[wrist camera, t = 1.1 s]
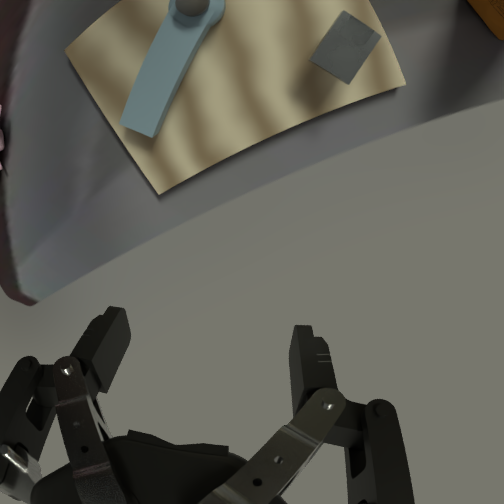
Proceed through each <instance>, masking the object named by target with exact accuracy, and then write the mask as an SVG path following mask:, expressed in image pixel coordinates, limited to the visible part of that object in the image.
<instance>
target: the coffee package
mask: <svg viewBox="0 0 504 504" xmlns="http://www.w3.org/2000/svg"><path fill="white" fill-rule="evenodd" d="M467 1H468V2H469V3H470V4H471V6H472V7H473V8H474V10H475V11H476V12H477V13H478V15H479V16H480V17H481V18H482V19H483V21H484V22H485V23H486V25H487V26H488V28H489V29H490V30H491V31H492V32H493V33H494V34H495V35H496V36H497V38H498V39H499V40H504V0H467Z"/></svg>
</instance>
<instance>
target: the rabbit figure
mask: <svg viewBox="0 0 504 504" xmlns="http://www.w3.org/2000/svg"><path fill="white" fill-rule="evenodd" d="M0 113H1V105H0ZM3 149H4V136H3V132H2V130H1V129H0V151H1V150H3ZM2 169H3V168H2V165H1V162H0V170H2Z"/></svg>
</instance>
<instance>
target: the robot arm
mask: <svg viewBox="0 0 504 504" xmlns="http://www.w3.org/2000/svg"><path fill="white" fill-rule="evenodd" d="M130 339H131V332H130V327H129V323H128V319H127V315H126V311H125V309H124V308H119V307H113V306H109V307H108V308H107V310H106V311H105V313H104V314H103V315H99V316H97V317H96V318H95V319H93V320H92V321H91V322H90V324H89V326H88V327H87V329H86V330H85V332H84V333H83V335H82V336H81V338H80V340H79V341H78V343H77V344H76V346H75V348H74V349H73V351H72V353H71V354H70V356H65V357H62V358H60V359H58V360H57V361H56V362H55V364H54V365H40V364H39V362H38V360H37V359H36V358H35V357H33V356H26V357H23V358H21V359H20V360H19V361H18V362H17V364H16V365H15V367H14V369H13V370H12V372H11V374H10V376H9V377H8V379H7V380H6V382H5V384H4V386H3V388H2V390H1V391H0V491H1V492H2V493H4V494H6V495H8V496H10V497H12V498H13V499H15V500H19V501H23V502H25V503H27V504H287V503H286V502H285V501H284V500H283V498H282V497H281V495H282V494H283V493H284V492H285V491H286V490H287V489H288V488H289V486H290V485H291V484H292V483H293V482H294V480H295V479H296V478H297V477H298V476H299V474H300V473H301V472H302V470H303V469H304V467H306V465H307V464H308V463H309V462H310V460H311V459H312V458H313V456H314V455H315V454H316V453H317V451H318V450H319V448H320V447H321V446H322V444H323V443H328V444H333V445H337V446H342V447H344V451H345V462H346V474H347V489H348V504H415V503H414V496H413V490H412V483H411V477H410V472H409V467H408V462H407V457H406V452H405V447H404V443H403V438H402V433H401V429H400V425H399V421H398V417H397V413H396V410H395V408H394V406H393V405H392V404H391V403H390V402H388V401H386V400H383V399H375V400H372V401H370V402H369V403H368V404H367V405H365V404H360V403H355V402H351V401H349V400H347V399H346V398H345V397H344V396H343V394H342V393H341V392H339V390H338V388H337V384H336V379H335V374H334V369H333V365H332V362H331V356H330V352H329V347H328V344H327V343H326V342H325V340H324V339H323V338H322V337H314V335H313V330H312V327H311V326H310V325H295V327H294V331H293V336H292V340H291V345H290V350H289V367H290V379H291V391H292V392H291V393H292V405H293V419H292V420H291V421H290V422H289V423H288V424H287V425H284V426H282V427H281V428H280V429H279V430H278V431H277V432H276V433H275V434H274V435H273V437H271V438H270V440H269V441H268V442H267V443H266V444H265V445H264V446H263V447H262V448H261V449H260V450H259V451H258V452H257V453H256V454H255V455H254V456H253V457H252V458H251V459H250V460H249V461H247V460H246V459H244V458H242V457H240V456H238V455H236V454H233V453H230V452H229V446H223V445H213V444H205V443H201V444H187V445H174V444H172V443H169V442H167V441H164V440H162V439H160V438H158V437H156V436H153V435H151V434H146V433H142V432H137V431H133V430H129V431H128V434H127V436H126V435H125V436H117V437H113V436H112V435H111V433H110V431H109V429H108V426H107V424H106V421H105V418H104V416H103V413H102V410H101V407H100V405H99V401H98V399H97V397H96V396H97V394H98V392H102V393H107V392H108V390H109V387H110V385H111V383H112V380H113V378H114V376H115V374H116V372H117V369H118V367H119V365H120V363H121V361H122V358H123V356H124V354H125V352H126V350H127V348H128V346H129V343H130ZM31 397H33V399H32V401H31V403H30V405H29V407H28V410H27V412H26V408H27V406H28V404H29V402H30V399H31ZM56 413H57V417H58V422H59V426H60V430H61V434H62V437H63V441H64V445H65V448H66V451H67V455H68V458H69V461H70V462H69V463H68V464H66V465H65V466H63V467H61V468H59V469H58V470H56V471H54V472H52V473H50V474H49V475H47V476H45V477H44V478H42V474H41V468H40V466H39V463H38V461H39V458H40V455H41V452H42V449H43V446H44V444H45V441H46V438H47V436H48V433H49V430H50V428H51V425H52V423H53V420H54V418H55V415H56Z"/></svg>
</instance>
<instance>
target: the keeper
mask: <svg viewBox="0 0 504 504" xmlns="http://www.w3.org/2000/svg"><path fill="white" fill-rule="evenodd" d="M381 37H382V36H381V35H380V34H378V33H377V32H375V31H374V30H373V29H371V28H370V27H369V26H367V25H366V24H364V23H363V22H361V21H360V20H358V19H357V18H355V17H354V16H352V15H351V14H349V13H348V12H346V11H345V10H343V11H341V12H340V14H339V15H338V17H337V18H336V20H335V21H334V22H333V24H332V25H331V27H330V28H329V30H328V31H327V33H326V34H325V36H324V37H323V38H322V40H321V41H320V43H319V44H318V46H317V47H316V49H315V50H314V52H313V53H312V55H311V57H310V58H309V60H308V61H310V62H312V63H314V64H315V65H317V66H319V67H320V68H322V69H323V70H325V71H327V72H328V73H330V74H331V75H333V76H335V77H336V78H338V79H339V80H341V81H342V82H344V83H345V84H347V85H349V84H350V83H351V81H352V80H353V78H354V77H355V75H356V74H357V72H358V71H359V69H360V68H361V66H362V65H363V63H364V62H365V60H366V59H367V57H368V56H369V54H370V53H371V52H372V50H373V49H374V47H375V46H376V44H377V43H378V41H379V40H380V38H381Z"/></svg>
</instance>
